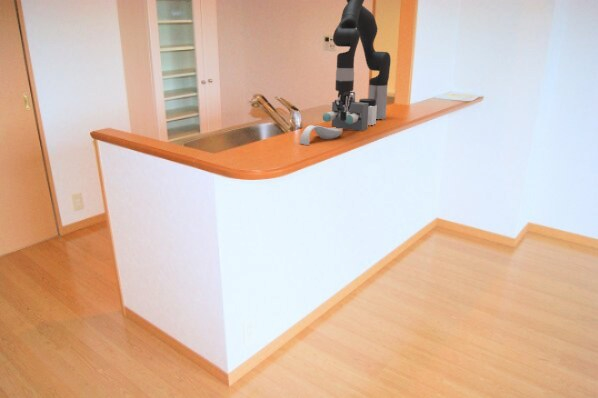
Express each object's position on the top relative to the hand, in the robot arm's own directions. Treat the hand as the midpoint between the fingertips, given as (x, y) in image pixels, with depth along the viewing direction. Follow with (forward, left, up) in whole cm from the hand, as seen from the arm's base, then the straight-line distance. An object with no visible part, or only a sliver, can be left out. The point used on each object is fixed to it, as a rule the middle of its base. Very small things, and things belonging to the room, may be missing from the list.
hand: (343, 120), depth 206 cm
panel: (-18, -5, -7) cm, 20 cm away
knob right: (-11, 0, -2) cm, 11 cm away
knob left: (-11, -11, -2) cm, 15 cm away
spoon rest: (+11, -5, -7) cm, 14 cm away
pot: (-19, -5, +5) cm, 21 cm away
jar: (-31, -2, -7) cm, 32 cm away
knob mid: (-15, -5, -2) cm, 16 cm away
